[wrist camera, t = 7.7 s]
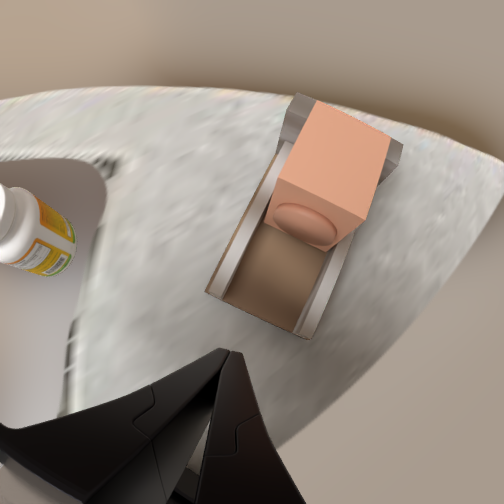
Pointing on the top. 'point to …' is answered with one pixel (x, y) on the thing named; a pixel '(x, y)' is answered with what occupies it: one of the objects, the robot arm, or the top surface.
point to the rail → (282, 250)
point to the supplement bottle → (34, 234)
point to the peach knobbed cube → (328, 178)
